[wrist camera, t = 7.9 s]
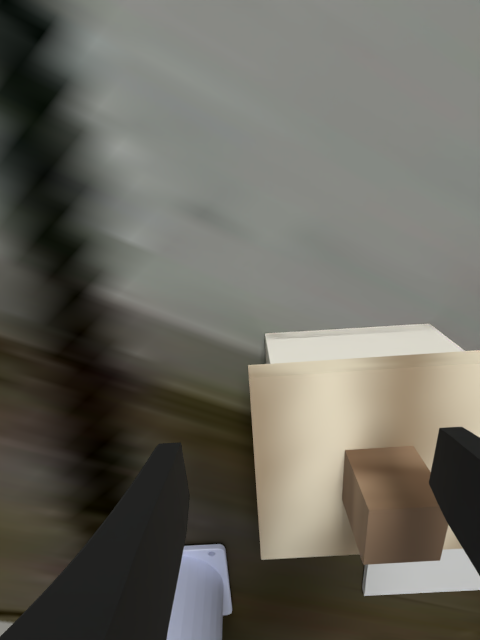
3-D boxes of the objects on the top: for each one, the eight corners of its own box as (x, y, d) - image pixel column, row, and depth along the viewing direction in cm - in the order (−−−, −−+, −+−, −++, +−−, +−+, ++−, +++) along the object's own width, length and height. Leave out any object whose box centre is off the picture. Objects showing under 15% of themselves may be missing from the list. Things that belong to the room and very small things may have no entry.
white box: (269, 459, 23) (277, 522, 18) (264, 333, 19) (272, 377, 15) (408, 451, 22) (447, 513, 18) (429, 323, 19) (483, 364, 15)
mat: (362, 588, 28) (364, 595, 27) (376, 464, 23) (379, 470, 22) (525, 580, 28) (530, 587, 27) (576, 453, 23) (583, 459, 22)
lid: (259, 541, 19) (265, 629, 15) (248, 365, 15) (252, 428, 11) (463, 529, 19) (518, 615, 15) (509, 348, 15) (602, 406, 11)
